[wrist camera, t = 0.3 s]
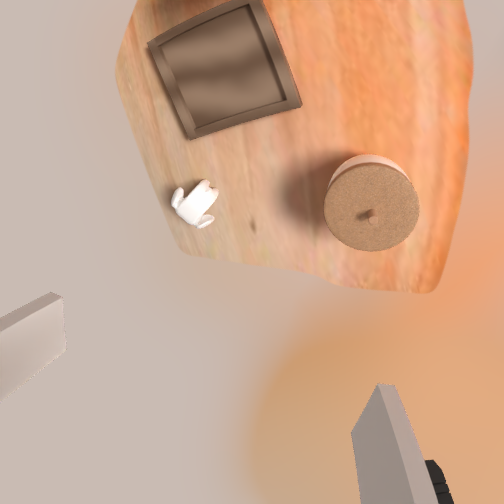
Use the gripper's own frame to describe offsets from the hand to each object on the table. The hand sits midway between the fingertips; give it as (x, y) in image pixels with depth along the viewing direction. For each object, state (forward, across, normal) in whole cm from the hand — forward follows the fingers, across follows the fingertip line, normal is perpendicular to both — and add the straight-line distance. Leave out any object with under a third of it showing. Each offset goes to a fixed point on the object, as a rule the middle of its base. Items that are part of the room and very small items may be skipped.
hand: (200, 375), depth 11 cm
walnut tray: (+26, -9, +20) cm, 34 cm away
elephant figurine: (+35, -11, +4) cm, 37 cm away
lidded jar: (+30, +11, +10) cm, 34 cm away
